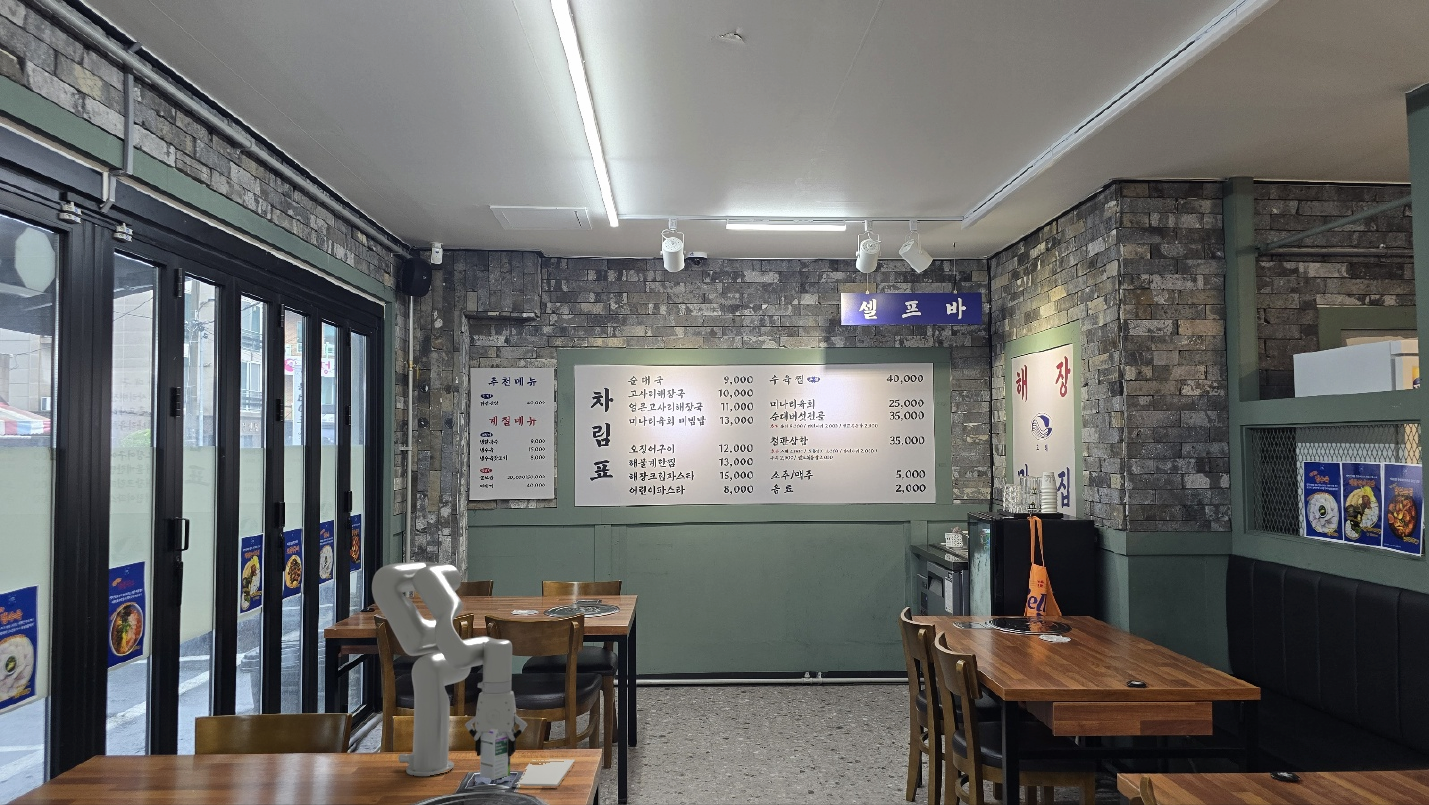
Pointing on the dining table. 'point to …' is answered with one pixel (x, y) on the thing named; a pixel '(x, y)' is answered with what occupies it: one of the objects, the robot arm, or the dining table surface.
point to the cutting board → (546, 773)
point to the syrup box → (494, 755)
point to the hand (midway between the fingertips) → (495, 754)
